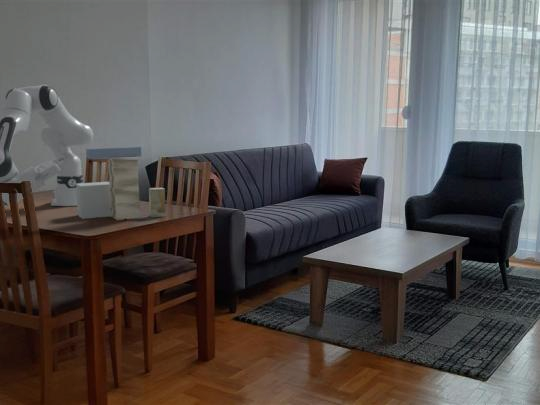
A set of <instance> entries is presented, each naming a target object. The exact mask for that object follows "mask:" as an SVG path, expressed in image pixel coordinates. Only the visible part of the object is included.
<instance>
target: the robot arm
mask: <svg viewBox="0 0 540 405" xmlns="http://www.w3.org/2000/svg"><path fill="white" fill-rule="evenodd" d="M4 101H5V102H4V104H3V107H2V110H1V116H0V183H21V182H22V181H30V183H31V188H32V192H31V193H34V192H36V191H37V190H40V189H41V188H42V187H44V186H45V185H46V184H45V182H46V181H47V180H48V179H51V178H52V177H54V176H56V183H57V184H56V186H55V188H54V189H53V191H52V193H51V194H52V197H53V199H52V201H51V203H50V206H52V207H54V206H58V207H75V206H76V207H77V193H76V184H79V183H84V177H83V174H82V160H81V159H80V157H79V156H78V155H76V154H74V153H73V151H72V150H71V148H75V147H76V148H82V147H86V146H90V145H91V143H92V142H93V140H94V132H93V129H92V127H90V126H89V125H87V124H85V123H82V122H81V121H79V120H78V119H77V118H75V117H74V116H72V114H71V113H69V111H68V110H67V108H66V107H65V105H64V104H63V102H62V101H61V99H60V96H58V93H57V91H56V90H55V89H54V88H53V87H52V86H50V85H47V84H38V85H29V86H23V87H15V88H12V89H9V90H8V92H6V94H5V100H4ZM36 112H38V113H39V115H40V117H41V118H42V120H43V121H44V123H45V124H46V125H45V126H44V127H43V128H42V129H41V132H40V135H41V141H42V143H44V144H45V146H47V147H48V148H49V149H50V150H51V152H52V154H53V156H54V159H55V160H53V161H51V160H48V161H44V162H42V163H40V164H38V165H37V166H35V167H34V166H30V167H28V168H27V169H25V170H23V171H22V172H21V173H20V172H19V169H18V168H17V166H16V164H15V162H14V161H13V160H12V157H11V153H10V151H11V147H12V143H13V139H14V136H21V135H23V134H25V133H27V131H28V128H29V126H30V123H31V117H32V113H36ZM2 199H3V203H4V204H3V205H4V206H11V205H10V203H9V194H8V193H2ZM23 199H24V198H23V196H22V194H20V193H17V202H20V201H22V200H23ZM17 202H16V203H17Z"/></svg>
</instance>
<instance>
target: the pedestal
mask: <svg viewBox="0 0 540 405" xmlns="http://www.w3.org/2000/svg"><path fill="white" fill-rule="evenodd" d="M106 160H107V162H108V178H109V179H108V180H109V181H108V182H109V185H110V206H111V216H110V217H111V218H112V219H113V220H115V219H116V220H115V221H125V220H124V219H127V220H136V219H141V211H140V210H141V209H140V206H141V205H140V188H139V186H140V185H139V161H138V160H140V157H120V158H107V159H106Z"/></svg>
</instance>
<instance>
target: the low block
mask: <svg viewBox="0 0 540 405" xmlns="http://www.w3.org/2000/svg"><path fill="white" fill-rule="evenodd" d="M76 193H77V206H76V207H77V208H76V209H77V216H78V217H79V218H81V219H82V220H83V219H94V218H97V217H98V218H106V217H107V218H109V217H111V206H110V185H109V181H101V182H100V181H97V182H82V183H79V184H76Z"/></svg>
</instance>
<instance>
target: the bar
mask: <svg viewBox="0 0 540 405" xmlns="http://www.w3.org/2000/svg"><path fill="white" fill-rule="evenodd" d="M85 150H86V159H87V160H100V159H102V160H103V159H106V160H108V159H107V158H120V157H139V158H140V157H142V147H141V146H122V147H121V146H118V147H97V148H95V147H93V148H86V149H85Z"/></svg>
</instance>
